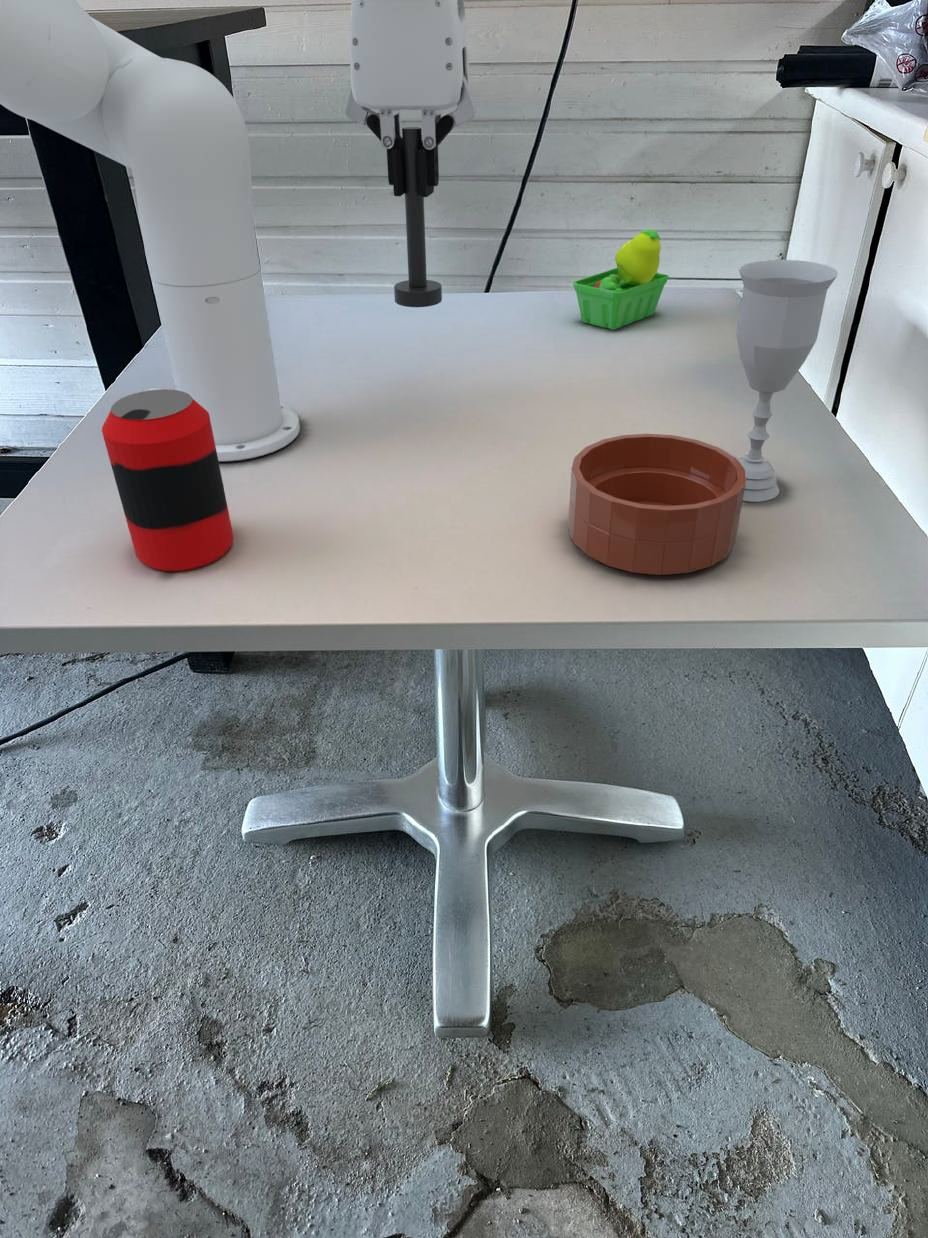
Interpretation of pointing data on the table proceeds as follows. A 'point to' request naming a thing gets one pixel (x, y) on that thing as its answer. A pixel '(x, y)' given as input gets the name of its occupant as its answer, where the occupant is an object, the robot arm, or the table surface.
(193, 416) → the soda can
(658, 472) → the bowl
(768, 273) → the chalice
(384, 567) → the table surface
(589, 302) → the fruit basket
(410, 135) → the upright rod on disc
